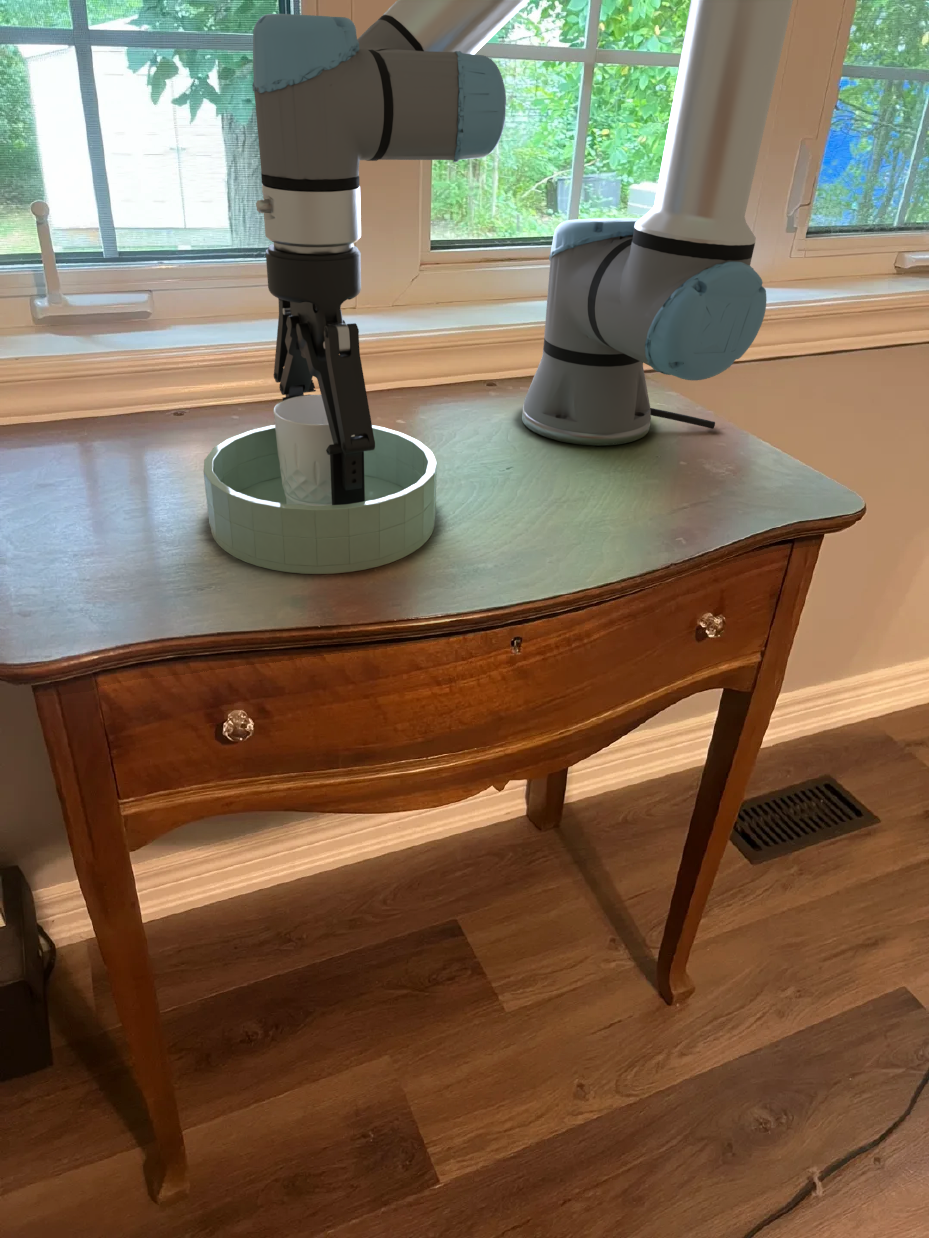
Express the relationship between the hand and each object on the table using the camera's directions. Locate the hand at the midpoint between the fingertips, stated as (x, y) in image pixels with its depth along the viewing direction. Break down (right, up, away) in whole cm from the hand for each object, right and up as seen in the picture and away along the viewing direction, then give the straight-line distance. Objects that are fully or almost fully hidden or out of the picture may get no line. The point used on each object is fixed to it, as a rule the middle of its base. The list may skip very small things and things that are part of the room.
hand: (323, 489), depth 86 cm
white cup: (0, -2, +1) cm, 2 cm away
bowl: (0, -3, +2) cm, 3 cm away
